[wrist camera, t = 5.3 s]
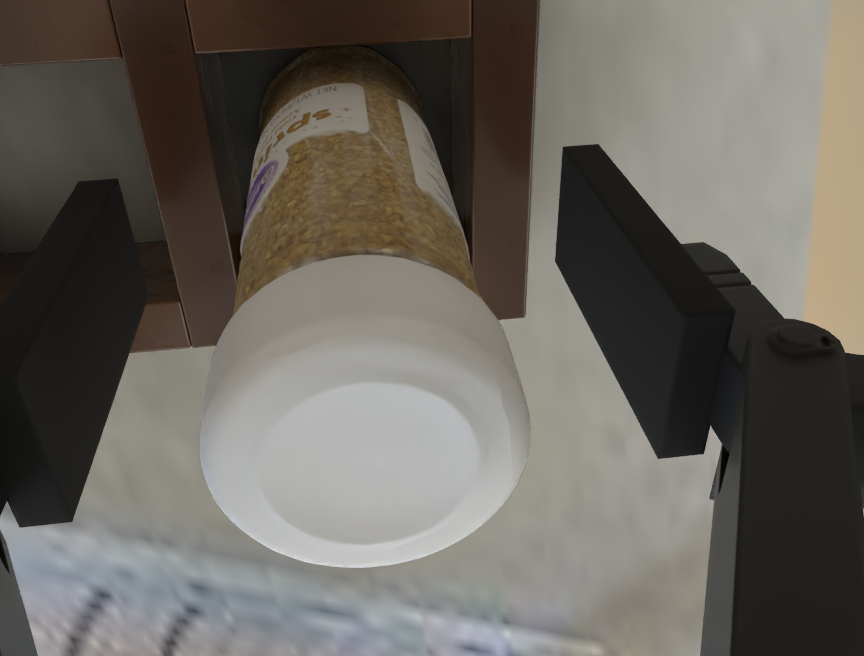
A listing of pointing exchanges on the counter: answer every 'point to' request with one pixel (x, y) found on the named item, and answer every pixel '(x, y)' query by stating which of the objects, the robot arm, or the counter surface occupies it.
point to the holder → (213, 143)
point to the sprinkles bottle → (357, 335)
